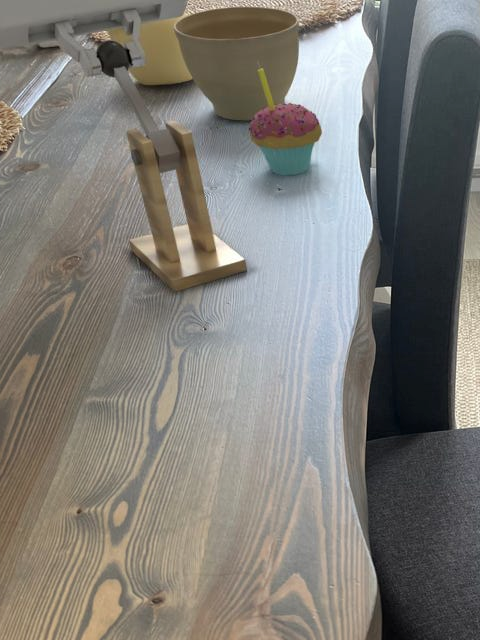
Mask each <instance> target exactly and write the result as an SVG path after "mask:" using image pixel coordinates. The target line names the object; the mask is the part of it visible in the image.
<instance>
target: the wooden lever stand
mask: <svg viewBox="0 0 480 640" xmlns="http://www.w3.org/2000/svg"><path fill="white" fill-rule="evenodd" d="M164 125H165V129H166V128H167V129H168V130H169V132H170V134H171V136H172V138H173V139H174V141H175V143H176V145H177V147H178V149H179V150H180V168H179V169H176V170H175V173H176V179H177V183H178V187H179V191H180V196H181V200H182V204H183V209H184V213H185V218H186V223H187V224H186V223H185V224H182V225H178V226H175V227H173V224H172V219H171V215H170V211H169V206H168V202H167V198H166V194H165V189H164V186H163V182H162V177H161V173H160V172H159V168H158V164H157V160H156V156H155V151H154V147H153V143H152V141H151V140H149V139H148V138H147V137H146V135H144V134H143V133H142V132H140V131H139V130H138V129H136V128H132V129H127V130H126V131H125V133H126V138H127V141H128V145H129V149H130V156H131V159H132V162H133V165H134V169H135V172H136V177H137V181H138V184H139V188H140V189H139V190H140V193H141V197H142V201H143V204H144V209H145V213H146V216H147V220H148V224H149V228H150V231H151V232H150V234H146V235H145V234H144V235H142V236H139V237H135V238H131V239H129V240H128V242H129V246H130V249H131V250H130V251H132V253H134V255H136V256H137V258H139V259H140V260H141V261H142V262H143V263H144V264H145V265H146V266H147V267H148V268H149V269H150V270H151V271H152V272H153V273H155V274H156V276H158V277H159V278H160V280H162V281H163V282H164V283H165V284H166V285H167V286H168V287H169V288H170V289H171V290H172V291H173V292H175V293H176V292H180V291H182V290H185V289H189V288H192V287H196V286H200V285H203V284H206V283H207V284H208V283H209V282H213V281H216V280H219V279H223V278H228V277H230V276H232V275H237V274H240V273H243V272H247V271H248V267H247V261H246V259H245V258H244V257H243V256H242V255H241V254H239V253H238V252H236V250H234V249H233V248H232V247H231V246H230V245H228V244H227V243H226V242H225V241H223V240H222V239H221V238H220V237H218V236H217V235H216V234H215V233H214V232H213V227H212V222H211V217H210V213H209V209H208V204H207V203H208V202H207V199H206V193H205V189H204V185H203V178H202V175H201V170H200V166H199V159H198V156H197V151H196V145H195V141H194V137H193V132H192V131H190V130H189V129H188V128H186V127H185V126H183V125H182V124H181V123H179V122H177V121H176V120H175V119H173V120H172V119H171V120H168V121H167V120H166V121H165V122H164Z"/></svg>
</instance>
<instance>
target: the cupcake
mask: <svg viewBox="0 0 480 640" xmlns="http://www.w3.org/2000/svg"><path fill="white" fill-rule="evenodd" d="M256 63H257V65H258V68H259V70H258V73H259V76H260V79H261V83H262V86H263V89H264V92H265V96H266V99H267V102H268V106H269V107H266V108H265V109H262V110H261V111H259V112H258V113H257V114H256V115H254V116H255V117H254V118H253V120H250V121H249V123H248V126H249V128H248V130H249V138H250V141H251V142H252V143H254V144H255V145H256V147H259V149H260V151H261V153H262V154H263V156H264V158H265V160H266V162H267V164H268V166H269V168H270V171H271V172H272V173H273V174H276V175H279V176H296V175H300V174H303V173H305V172H307V171H308V170H309V169H310V167H311V161H312V153H313V148H314V145H315V143H317V142H319V140H320V138H321V136H322V134H323V130H322V126H321V122H320V119H318V117H317V115H316V113H313V111H312V110H309V109H308V108H306V107H305V106H304V105H301V104H297V103H292V102H288V103H285V104H278V105H276V104H274V103H273V100H272V96H271V93H270V90H269V86H268V83H267V80H266V76H265V73H264V70H263V69H261V68H260V66H259V63H258V62H256Z"/></svg>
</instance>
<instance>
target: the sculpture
mask: <svg viewBox="0 0 480 640" xmlns="http://www.w3.org/2000/svg"><path fill="white" fill-rule="evenodd" d="M188 15H189V14H188V13H187V12H186V11H185V12H184V14H183V15H182V16H181V17H176V18H171V19H165V20H160V21H155V22H149V23H144V24H141V28H140V38H139V42H140V44H141V46H142V49H143V51H144V53H145V57H146V62H145V66H140V67H135V68H130V67H129V69H128V73H129V74H131V77H133V78H134V79H135V80H136V81H137V82H139V83H140V85H141V84H142V85H144V86H163V85H173V84H175V85H176V84H180V83H181V84H182V83H185V82H188V81H189V82H190V81H192V80H193V78H192V76H191V74H190V73H189V71H188V69H187V66H186V64H185V62H184V59H183V56H182V53H181V49H180V45H179V41H178V39H177V37H176V34H175V31H174V24H175V23H176V22H177V21H178V20H180V19H181V18H183V17H185V16H188ZM107 34H108V36H109V38H110V40H112V41H116V42H118V43H120V44H121V45H122V46H123V47H124V42H128V41H132V34H131V35H128V36H127V35H126V33H125V31H124V29H123V28H117V29H112V30H107Z"/></svg>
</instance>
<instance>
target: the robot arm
mask: <svg viewBox="0 0 480 640" xmlns="http://www.w3.org/2000/svg"><path fill="white" fill-rule="evenodd" d="M188 1H189V0H0V50H10V49H15V48H20V47H26V46H32V45H37V44H38V43H42V42H48V41H53V40H57V42H58V44H59V46H58V47H59V49H60V50H61V51H63V53H65V54H67V55H68V56H69V57H70V58H72V59H73V61H76V62H77V63H79V65H80V67H81V69H82V71H83V73H84V76H85V77H86V78H89V77H90V78H91V77H95V76H99V75H102V73H103V72H102V71H101V70H102V65H101V62H100V60H99V58H97V53H96V49H95V48H94V47H93V48H86V47H84V46H83V45H82V44H81V43H80V42H78V41H77V40H76V38H75V37H80V36H85V35H89V34H95V33H101V32H108V30H112V29H117V28H123V29H124V31H125V33H126V35H127V36H128V35H131V34H132V41H128V42H124V48H125V49H126V51H127V52H128V55H129V58H130V66H129V67H130V68H135V67H140V66H145V62H146V57H145V53H144V51H143V49H142V46H141V44H140V42H139V38H140V28H141V24H144V23H149V22H155V21H160V20H165V19H171V18H176V17H181V16H182V15H183V14H184V12H186V9H187V6H188Z"/></svg>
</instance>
